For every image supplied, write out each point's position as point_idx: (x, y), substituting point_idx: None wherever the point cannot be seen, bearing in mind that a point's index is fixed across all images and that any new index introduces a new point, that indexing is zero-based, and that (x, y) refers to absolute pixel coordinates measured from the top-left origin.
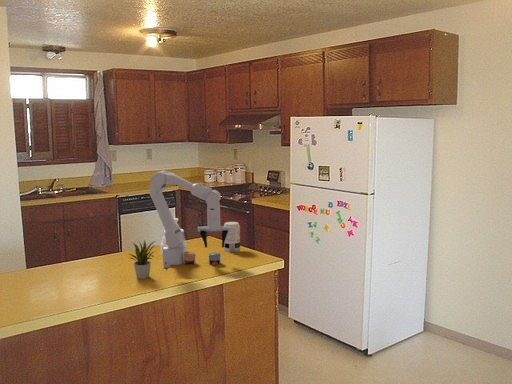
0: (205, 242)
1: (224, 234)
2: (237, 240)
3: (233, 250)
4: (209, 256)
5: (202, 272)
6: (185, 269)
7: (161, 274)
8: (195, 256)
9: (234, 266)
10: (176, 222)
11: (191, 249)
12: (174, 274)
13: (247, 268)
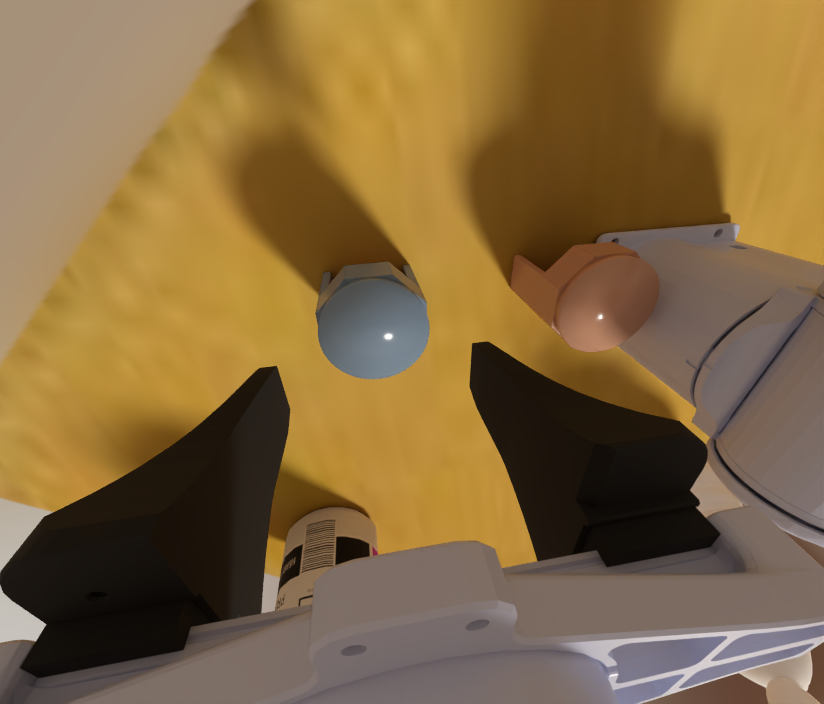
0: (508, 369)
1: (94, 513)
2: (282, 603)
3: (312, 528)
4: (419, 295)
5: (445, 115)
6: (584, 200)
7: (791, 34)
8: (543, 318)
9: (216, 306)
10: (774, 682)
11: None
12: (687, 36)
13: (72, 265)
